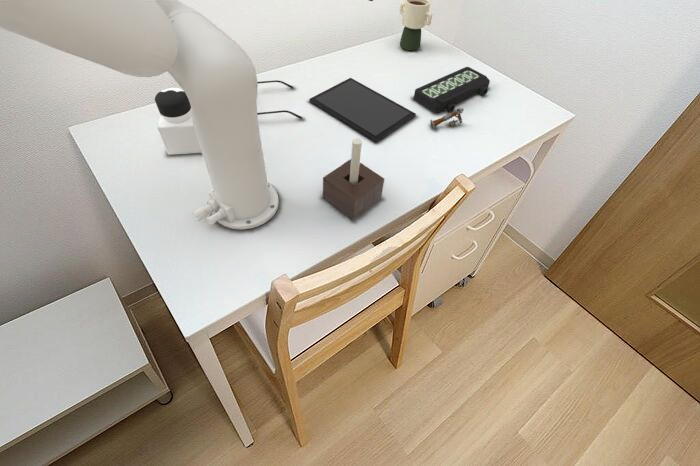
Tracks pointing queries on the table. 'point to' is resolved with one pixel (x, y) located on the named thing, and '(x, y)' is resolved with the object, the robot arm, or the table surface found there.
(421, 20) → the character mug
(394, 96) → the table surface
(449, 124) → the wooden post with brackets
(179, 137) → the medicine bottle
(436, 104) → the digital display
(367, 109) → the tablet
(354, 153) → the stylus
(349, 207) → the block
